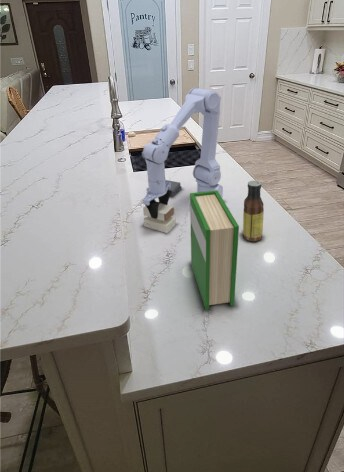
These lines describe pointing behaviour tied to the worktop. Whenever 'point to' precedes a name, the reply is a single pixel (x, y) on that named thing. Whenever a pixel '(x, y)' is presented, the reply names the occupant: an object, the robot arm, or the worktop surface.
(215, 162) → the robot arm
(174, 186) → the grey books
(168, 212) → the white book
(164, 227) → the cream rectangular block
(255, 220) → the sauce bottle
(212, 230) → the hardback book
